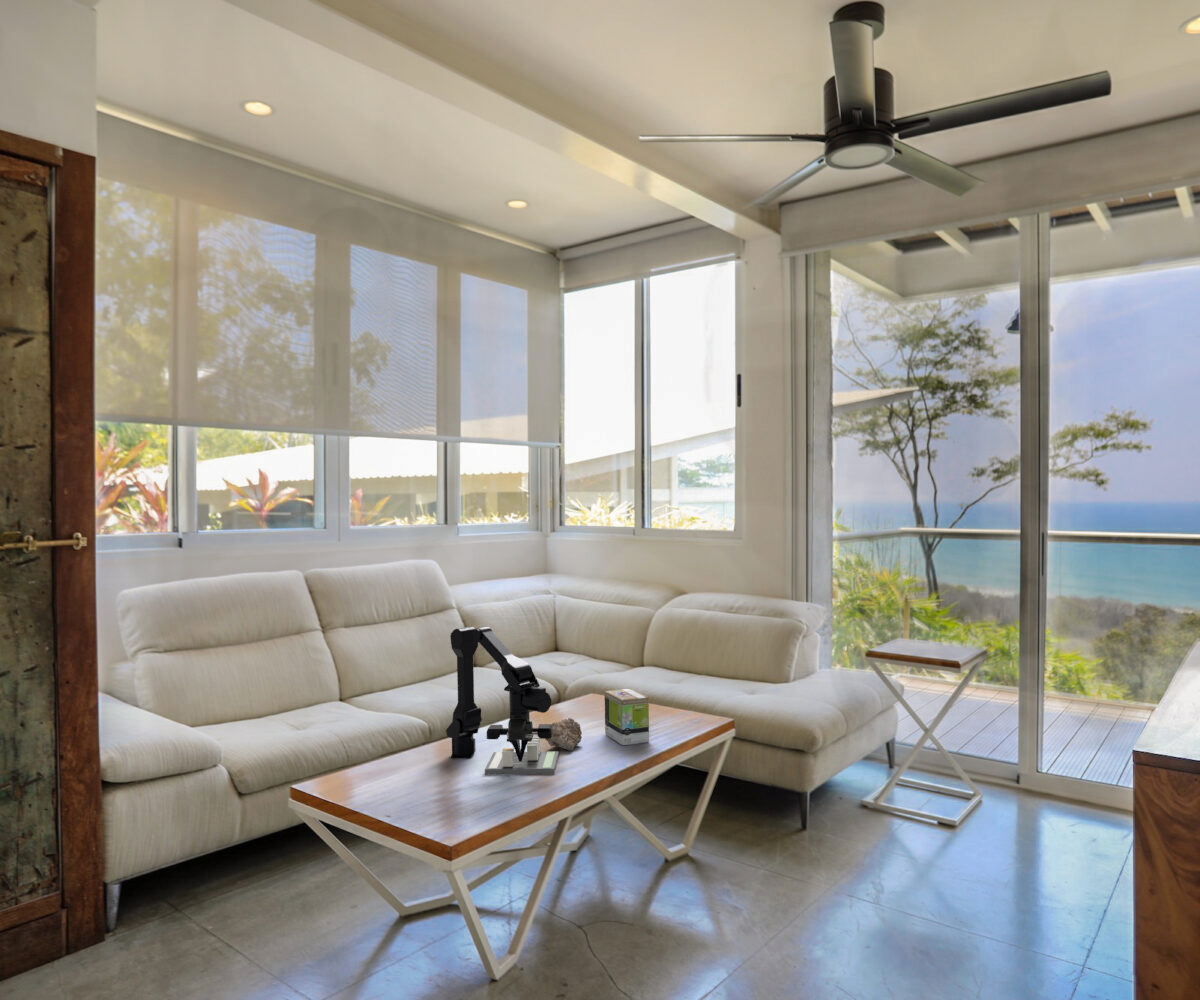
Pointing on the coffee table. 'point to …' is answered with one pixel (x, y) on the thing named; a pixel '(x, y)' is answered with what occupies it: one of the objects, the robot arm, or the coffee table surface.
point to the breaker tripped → (508, 757)
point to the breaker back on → (536, 739)
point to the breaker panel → (523, 764)
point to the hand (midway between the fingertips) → (520, 761)
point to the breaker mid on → (532, 751)
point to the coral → (565, 734)
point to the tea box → (627, 716)
